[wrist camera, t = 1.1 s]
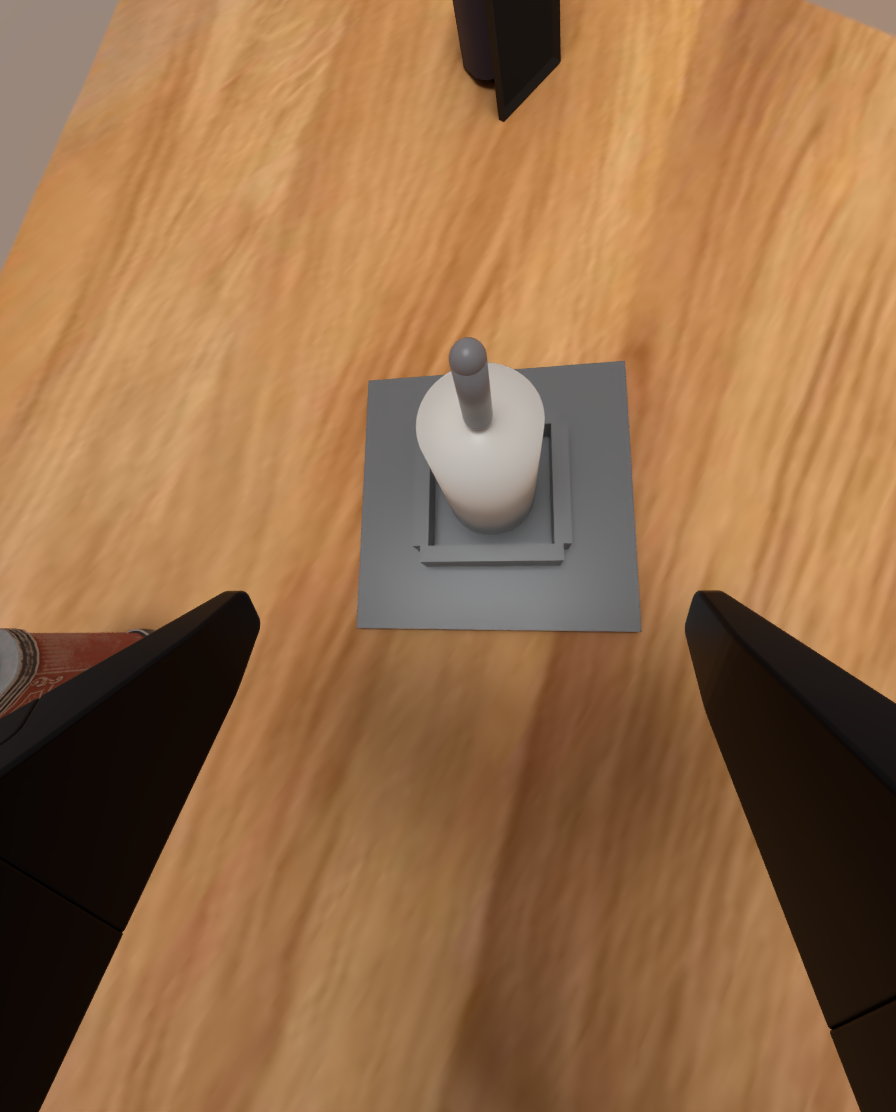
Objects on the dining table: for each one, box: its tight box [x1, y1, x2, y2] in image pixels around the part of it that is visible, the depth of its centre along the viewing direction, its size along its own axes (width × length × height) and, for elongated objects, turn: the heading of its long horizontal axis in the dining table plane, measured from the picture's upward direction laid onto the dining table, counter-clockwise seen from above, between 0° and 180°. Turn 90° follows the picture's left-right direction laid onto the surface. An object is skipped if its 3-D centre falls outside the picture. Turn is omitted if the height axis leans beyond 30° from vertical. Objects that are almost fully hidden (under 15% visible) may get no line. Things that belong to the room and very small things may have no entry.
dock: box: [357, 361, 641, 632], centre depth 22 cm, size 14×14×2 cm
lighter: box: [0, 629, 155, 718], centre depth 20 cm, size 8×3×10 cm, turn 127°
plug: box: [416, 337, 545, 535], centre depth 17 cm, size 4×4×12 cm
